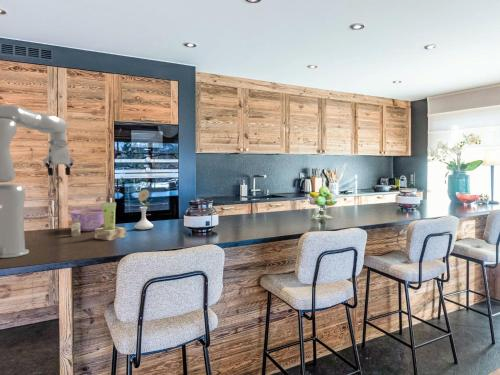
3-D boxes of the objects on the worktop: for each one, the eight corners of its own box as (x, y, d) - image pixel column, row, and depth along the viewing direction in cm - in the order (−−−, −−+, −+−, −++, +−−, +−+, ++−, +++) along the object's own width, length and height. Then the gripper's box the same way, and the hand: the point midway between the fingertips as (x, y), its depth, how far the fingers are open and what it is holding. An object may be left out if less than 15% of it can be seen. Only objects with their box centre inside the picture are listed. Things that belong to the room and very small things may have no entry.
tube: (108, 239, 192) (107, 203, 190) (102, 238, 195) (101, 202, 193) (117, 237, 197) (116, 202, 195) (111, 236, 199) (110, 201, 198)
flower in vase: (131, 228, 222) (130, 189, 220) (148, 226, 229) (147, 188, 228) (140, 231, 212) (139, 190, 210) (157, 229, 220) (157, 189, 218)
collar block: (109, 240, 188) (109, 231, 188) (94, 238, 194) (94, 229, 194) (126, 236, 198) (125, 227, 197) (111, 234, 204) (111, 225, 204)
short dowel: (74, 236, 197) (74, 224, 197) (69, 236, 200) (69, 223, 199) (82, 235, 201) (81, 223, 201) (77, 234, 203) (76, 222, 203)
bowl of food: (69, 234, 205) (68, 214, 204) (71, 228, 223) (70, 210, 223) (106, 231, 213) (106, 212, 213) (105, 226, 232) (105, 208, 231)
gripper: (46, 142, 184) (47, 175, 186) (77, 144, 199) (78, 174, 200) (38, 143, 188) (39, 175, 189) (69, 144, 203) (70, 174, 204)
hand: (59, 175), depth 195 cm, fingers open, 9 cm apart
